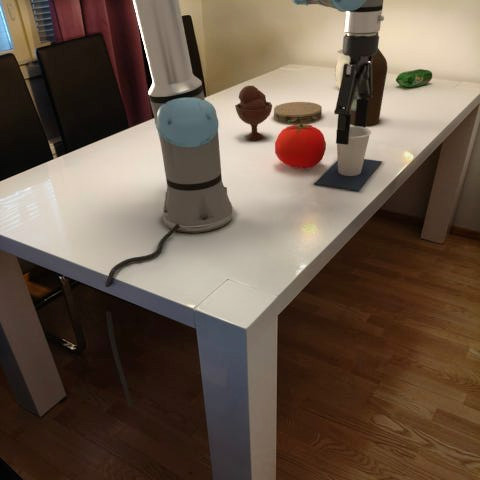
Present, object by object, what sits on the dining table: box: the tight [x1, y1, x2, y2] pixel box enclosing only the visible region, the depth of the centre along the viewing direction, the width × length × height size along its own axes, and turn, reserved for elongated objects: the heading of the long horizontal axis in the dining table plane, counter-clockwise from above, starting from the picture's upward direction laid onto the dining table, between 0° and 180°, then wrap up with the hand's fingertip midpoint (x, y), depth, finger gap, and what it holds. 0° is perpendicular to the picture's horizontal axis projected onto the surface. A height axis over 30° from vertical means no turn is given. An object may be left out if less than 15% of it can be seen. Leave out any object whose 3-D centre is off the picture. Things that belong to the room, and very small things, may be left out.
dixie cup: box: [334, 125, 372, 176], centre depth 120 cm, size 8×8×10 cm
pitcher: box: [334, 48, 350, 90], centre depth 185 cm, size 11×18×14 cm, turn 151°
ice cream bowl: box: [234, 85, 273, 142], centre depth 144 cm, size 11×11×15 cm
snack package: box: [395, 68, 433, 88], centre depth 188 cm, size 7×16×5 cm, turn 120°
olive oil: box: [350, 31, 388, 127], centre depth 148 cm, size 11×11×25 cm
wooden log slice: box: [273, 101, 323, 126], centre depth 163 cm, size 16×16×3 cm
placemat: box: [313, 158, 383, 192], centre depth 123 cm, size 20×11×1 cm, turn 152°
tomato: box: [274, 124, 327, 170], centre depth 125 cm, size 13×12×11 cm
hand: (351, 135), depth 117 cm, fingers open, 13 cm apart
